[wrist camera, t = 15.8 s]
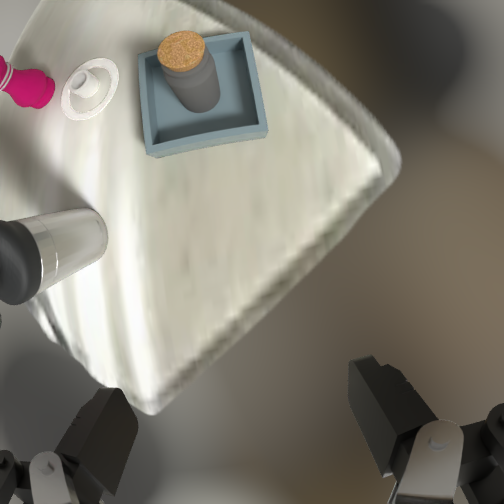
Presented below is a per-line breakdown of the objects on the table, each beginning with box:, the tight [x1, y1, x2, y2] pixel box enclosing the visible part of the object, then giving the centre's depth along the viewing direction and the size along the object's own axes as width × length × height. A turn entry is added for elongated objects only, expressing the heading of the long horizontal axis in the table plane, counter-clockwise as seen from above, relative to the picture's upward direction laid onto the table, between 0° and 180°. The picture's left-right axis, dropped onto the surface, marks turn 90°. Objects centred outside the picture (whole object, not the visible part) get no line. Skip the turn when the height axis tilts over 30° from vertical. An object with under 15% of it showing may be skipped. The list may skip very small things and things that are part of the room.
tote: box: [138, 31, 268, 158], centre depth 34 cm, size 16×16×5 cm
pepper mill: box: [0, 55, 55, 109], centre depth 24 cm, size 7×7×20 cm
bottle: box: [157, 31, 220, 113], centre depth 28 cm, size 6×6×15 cm
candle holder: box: [61, 58, 119, 121], centre depth 32 cm, size 12×12×4 cm
